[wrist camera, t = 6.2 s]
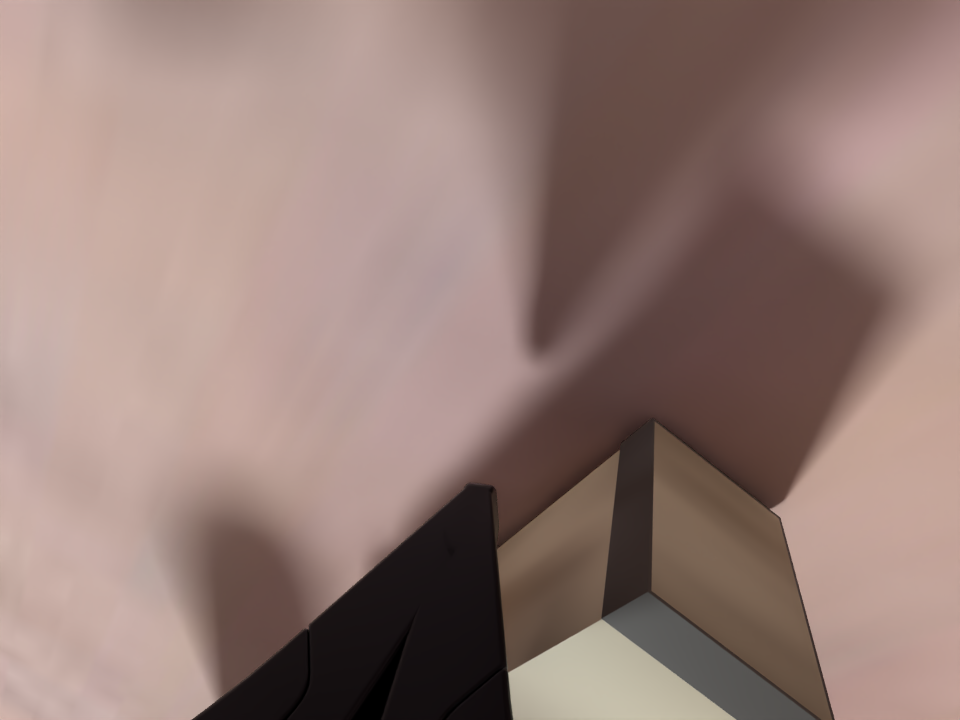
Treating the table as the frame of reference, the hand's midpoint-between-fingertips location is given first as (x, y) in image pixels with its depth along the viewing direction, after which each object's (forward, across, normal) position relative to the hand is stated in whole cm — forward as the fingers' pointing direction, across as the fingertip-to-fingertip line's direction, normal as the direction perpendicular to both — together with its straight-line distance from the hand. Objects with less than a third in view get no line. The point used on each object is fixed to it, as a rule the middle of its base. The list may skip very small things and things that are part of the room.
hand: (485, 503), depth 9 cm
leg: (+2, 0, +5) cm, 5 cm away
